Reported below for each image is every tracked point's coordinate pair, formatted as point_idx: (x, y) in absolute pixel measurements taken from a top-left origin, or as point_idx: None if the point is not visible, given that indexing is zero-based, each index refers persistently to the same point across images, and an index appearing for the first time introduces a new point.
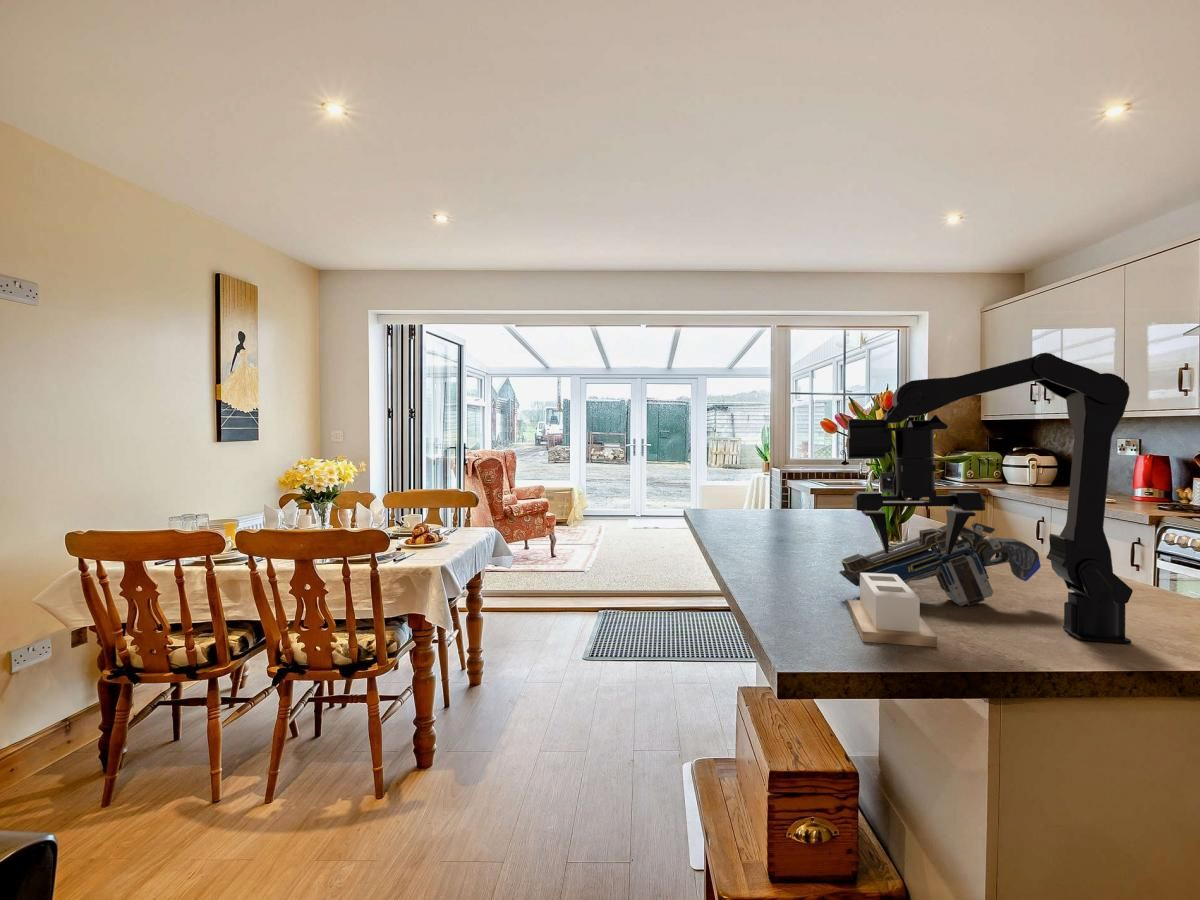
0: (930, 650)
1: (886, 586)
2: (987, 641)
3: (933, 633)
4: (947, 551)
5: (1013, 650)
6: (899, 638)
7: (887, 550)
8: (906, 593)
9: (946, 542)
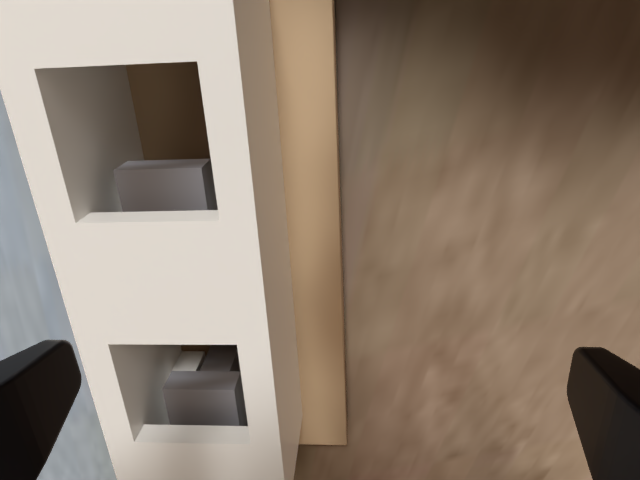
0: (323, 446)
1: (161, 344)
2: (526, 338)
3: (343, 419)
4: (575, 408)
5: (566, 404)
6: None
7: (61, 411)
8: (245, 456)
9: (627, 437)
